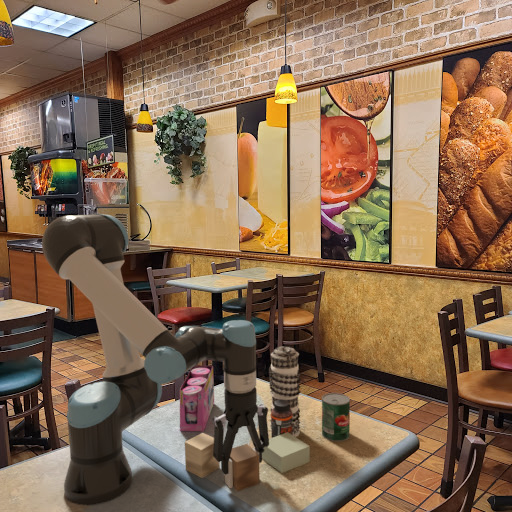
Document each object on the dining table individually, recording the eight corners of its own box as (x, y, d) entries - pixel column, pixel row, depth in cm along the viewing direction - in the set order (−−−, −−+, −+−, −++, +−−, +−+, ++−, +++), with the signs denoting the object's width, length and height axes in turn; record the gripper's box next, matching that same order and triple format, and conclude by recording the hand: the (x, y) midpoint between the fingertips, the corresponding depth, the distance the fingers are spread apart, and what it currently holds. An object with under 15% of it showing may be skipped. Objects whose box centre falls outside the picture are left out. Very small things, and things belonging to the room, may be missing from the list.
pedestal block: (281, 476, 114) (281, 457, 113) (260, 460, 121) (260, 442, 121) (309, 464, 119) (309, 446, 118) (287, 449, 126) (287, 432, 126)
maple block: (202, 481, 112) (201, 449, 111) (185, 472, 116) (184, 441, 115) (219, 470, 117) (218, 440, 116) (203, 461, 121) (202, 432, 120)
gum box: (203, 434, 135) (202, 392, 134) (178, 433, 136) (177, 392, 134) (214, 401, 157) (213, 365, 156) (193, 401, 158) (192, 365, 156)
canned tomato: (324, 426, 138) (324, 391, 137) (351, 430, 136) (351, 394, 134) (319, 439, 131) (319, 402, 130) (347, 443, 128) (347, 405, 127)
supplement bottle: (282, 449, 126) (281, 410, 124) (267, 440, 130) (266, 403, 128) (297, 439, 130) (296, 402, 128) (281, 432, 134) (280, 395, 132)
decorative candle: (265, 426, 139) (264, 345, 136) (294, 422, 141) (294, 342, 138) (274, 442, 130) (273, 355, 127) (305, 437, 132) (305, 352, 129)
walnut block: (237, 495, 106) (236, 462, 106) (225, 481, 112) (224, 450, 111) (259, 486, 109) (259, 454, 109) (247, 474, 115) (246, 443, 114)
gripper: (208, 402, 100) (211, 502, 102) (284, 384, 109) (285, 476, 112) (195, 390, 106) (198, 484, 109) (267, 374, 116) (269, 461, 118)
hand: (242, 480), depth 110 cm, fingers open, 6 cm apart
